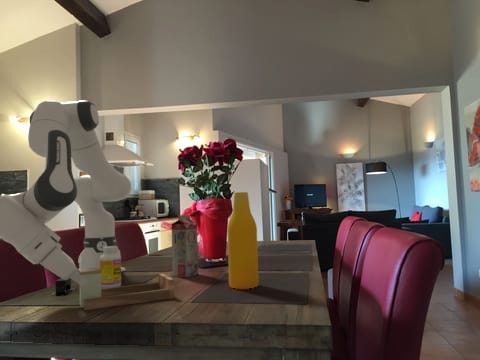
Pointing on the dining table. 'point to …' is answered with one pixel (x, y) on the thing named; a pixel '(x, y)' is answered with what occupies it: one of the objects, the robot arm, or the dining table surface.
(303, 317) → the dining table surface
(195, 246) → the juice carton
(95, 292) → the cream tall block
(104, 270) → the supplement bottle
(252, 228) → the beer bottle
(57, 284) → the black box
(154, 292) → the bay
